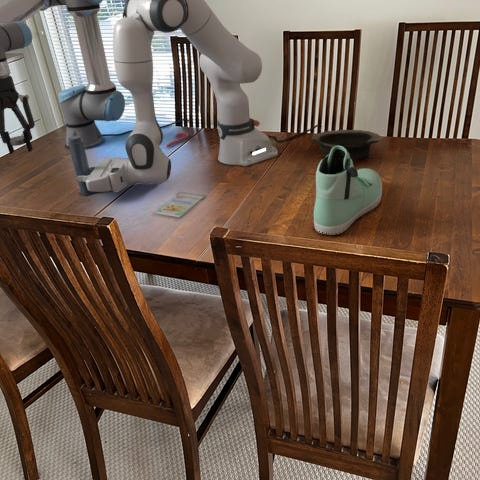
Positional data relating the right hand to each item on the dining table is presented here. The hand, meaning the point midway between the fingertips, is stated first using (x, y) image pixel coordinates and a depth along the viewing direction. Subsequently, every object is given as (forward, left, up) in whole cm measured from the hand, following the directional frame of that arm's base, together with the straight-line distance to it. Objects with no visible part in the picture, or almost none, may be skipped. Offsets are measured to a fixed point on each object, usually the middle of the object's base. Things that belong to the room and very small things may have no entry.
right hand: (81, 174), depth 158 cm
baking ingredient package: (-25, +26, -7) cm, 37 cm away
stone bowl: (-89, +21, -7) cm, 92 cm away
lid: (+16, -8, +13) cm, 22 cm away
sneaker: (-67, +55, -7) cm, 87 cm away
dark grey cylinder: (-1, 0, -7) cm, 7 cm away
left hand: (+16, -8, +9) cm, 20 cm away
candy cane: (-42, -30, -7) cm, 52 cm away
